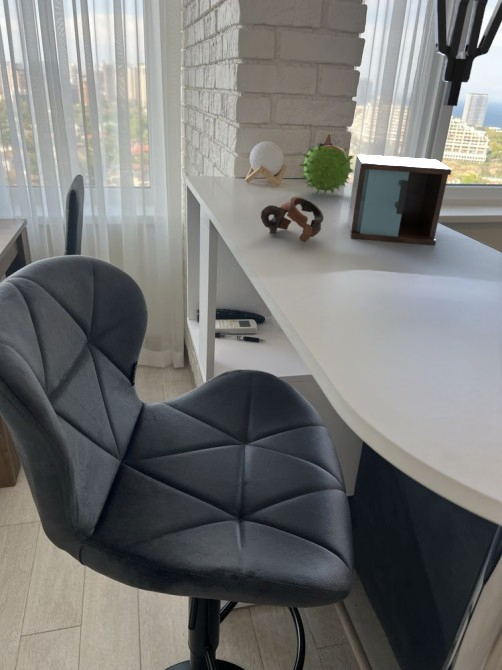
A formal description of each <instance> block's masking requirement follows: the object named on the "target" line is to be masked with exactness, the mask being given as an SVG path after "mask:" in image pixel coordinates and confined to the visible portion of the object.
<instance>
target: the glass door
mask: <svg viewBox="0 0 502 670" xmlns="http://www.w3.org/2000/svg"><path fill="white" fill-rule="evenodd" d="M408 177H409V172H400V171H386V170H371V169H369V175H368V182H367V189H366V195H365V202H364V209H363V216H362V222H361V229H360V234H372V235H384V236H397V237H398V232H399V226H400V221H401V215H402V213H403V208H404V202H405V197H406V191H407V186H408Z"/></svg>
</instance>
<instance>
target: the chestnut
mask: <svg viewBox="0 0 502 670" xmlns="http://www.w3.org/2000/svg"><path fill="white" fill-rule="evenodd" d="M336 145H337V144H336V143H335V144H334V145H331V144H327V145H319V144H317V146H316V147H313V148H310V147H308V149H309V151H308V152H307V154H306V153H303V156H305V158H304V161H303V163H301V164H299V166H300V167H303V172H302V174H301V176H300V179H302V178H305V179H306V180H307V182H306V184H307V185H306V187H309V188H311V189H313V188H315V189H316V195H318V193H319V192H320V191H323V192H324V195H326V193H328V192H327V191H330V192H331V193H332V194H335V189H337V190H338V191H340V186H343V187H344V188H347V186H346V185H345V183H346V184H349V182H348V181H350V177H349V175H350V173H351V174H352V173H354V172H355V169H353V168H351V165H353V164H354V163H353V162H351V160H352V159H354V157H355V155H349V152H348V151H347V150H348V147H346V148H345V147H344V146H339V145H337V146H336ZM347 180H348V181H347Z"/></svg>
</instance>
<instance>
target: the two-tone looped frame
mask: <svg viewBox="0 0 502 670" xmlns="http://www.w3.org/2000/svg"><path fill="white" fill-rule="evenodd" d="M299 205H300V207H301V210H299V209H298V208H297V206H299ZM301 211H302V212H307V213H312V214H313V218H314V219H312V220H311V222H310V224H309V223H308V220H309V218H308V216H306V215H304V214H303V213H302V212H301ZM271 215H272V218H271V219H270V216H271ZM285 216H287V217H288V218H286V217H285ZM260 220H261V223H262V224H263V225H264V227H266V228H268V229H269V234H270V235H271V234H277V231H278V229H280V230H285V231H288V228H289V226H290V224H291V223H292V221H293V222H294V223H296V224H297V225H298V226H299V227H300V228H302V229H303V230H302V233H301V235H300V236H299V241H301V242H303V243H307V242H308V241H309V240H310V238H313V237H315V236H316V235H318V234H319V233H320V231H321V230H322V223H323V221H324V214H323V212H322V210H321V209H320V208H319V207H318V206H317V205H316V204H315V203H313V201H310V200H308V199H306V198H304V197H300V196H294V197H291V199H290V200H289V201H287V202H284V203H282V204H280V205H279V206H277V205H272V204H270V205H267V206H264V208H263V209H262V210H261V212H260Z"/></svg>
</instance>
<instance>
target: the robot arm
mask: <svg viewBox="0 0 502 670" xmlns="http://www.w3.org/2000/svg"><path fill="white" fill-rule="evenodd" d="M488 2H489V0H473V2H472V9H471V10H472V11H471V16H470V20H469V25H468V31H467V35H466V40H465V44H464V50H463V54H462V55H463V56H462V57H463V58H457V56H458V54H459V50H460V44H461V42H462V41H461V39H462V36H463V30H464V25H465V21H466V15H467V12H468V11H467V10H468V7H469V4H470V0H455V3H454V12H453V18H452V22H451V27H450V33H449V38H448V37H447V0H433V21H434V22H433V23H434V50H435V53H437V54H440V55H441V56H443V57H444V59H445V62H444V66H443V71H442V77H441V79H442V82H447V85H446V91H445V95H444V101H443V106H450V107H458V103H459V99H460V94H461V93H460V92H461V88H462V83H468V82H469V80H470V78H471V74H472V68H473V64H474V61H475V59H476V58H478V57H480V56H483V55H486V54H488V53H489V51H490V48H491V46H492V44H493V42H494V40H495V38H496V35H497V33H498V31H499V28H500V26H501V25H502V0H497V2H496V5H495V6H494V9H493V11H492V14H491V16H490V17H489V21H488V23H487V24H486V27H485V30H484V31H483V34H482V36H481V31H482V25H483V21H484V17H485V13H486V8H487V6H488V5H487V4H488ZM480 36H481V38H480ZM447 38H448V41H447ZM479 40H480V41H479ZM447 42H448V43H447Z"/></svg>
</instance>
